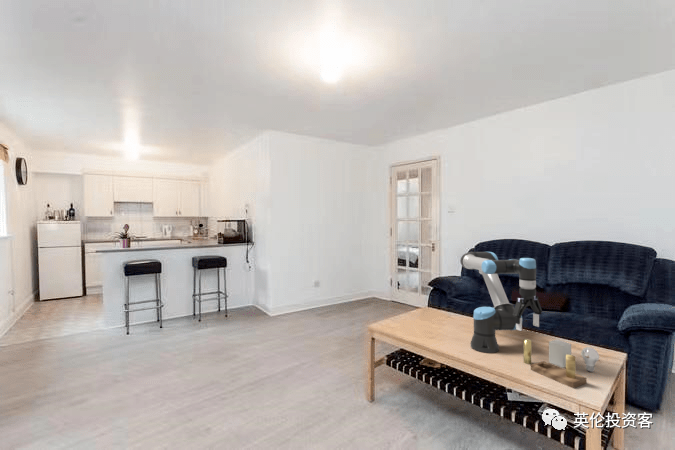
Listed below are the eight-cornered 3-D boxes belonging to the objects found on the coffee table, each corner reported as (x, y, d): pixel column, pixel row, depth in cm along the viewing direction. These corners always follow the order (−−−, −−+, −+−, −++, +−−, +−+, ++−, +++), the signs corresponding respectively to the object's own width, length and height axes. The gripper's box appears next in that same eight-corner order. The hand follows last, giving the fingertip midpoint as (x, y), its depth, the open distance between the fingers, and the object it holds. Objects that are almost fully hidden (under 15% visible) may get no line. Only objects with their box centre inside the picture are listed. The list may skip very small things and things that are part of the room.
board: (530, 369, 164) (530, 346, 164) (543, 365, 168) (543, 342, 168) (573, 388, 146) (573, 361, 146) (586, 383, 150) (586, 357, 150)
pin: (521, 362, 173) (521, 339, 173) (526, 360, 174) (526, 338, 174) (528, 364, 170) (528, 341, 169) (532, 363, 171) (532, 340, 171)
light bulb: (591, 368, 165) (591, 344, 165) (602, 374, 158) (602, 350, 158) (577, 368, 165) (577, 345, 164) (588, 375, 158) (588, 350, 157)
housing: (548, 362, 172) (548, 341, 172) (557, 359, 175) (557, 339, 175) (562, 367, 166) (562, 346, 166) (571, 365, 169) (571, 343, 168)
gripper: (518, 291, 163) (518, 334, 163) (549, 286, 173) (549, 326, 174) (504, 288, 169) (504, 329, 170) (536, 284, 180) (536, 322, 180)
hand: (527, 328), depth 172 cm, fingers open, 13 cm apart
